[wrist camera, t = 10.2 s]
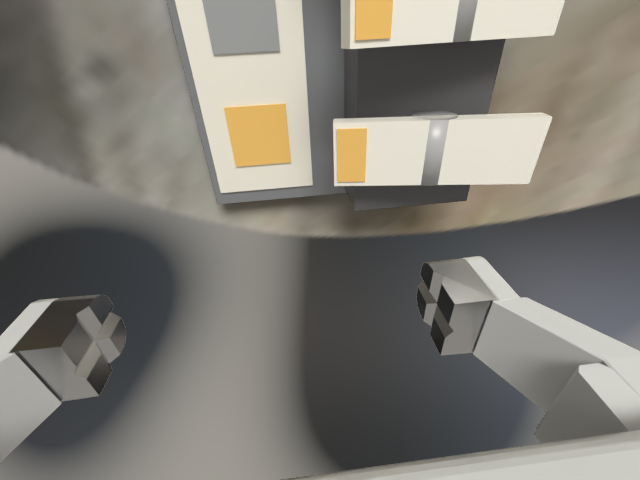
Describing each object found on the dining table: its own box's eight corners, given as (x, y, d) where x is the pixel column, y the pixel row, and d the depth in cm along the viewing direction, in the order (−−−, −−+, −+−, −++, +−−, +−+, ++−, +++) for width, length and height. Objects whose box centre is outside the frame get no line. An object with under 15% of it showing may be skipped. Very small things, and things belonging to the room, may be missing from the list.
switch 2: (529, 107, 18) (553, 117, 16) (511, 168, 20) (529, 184, 18) (334, 113, 18) (332, 123, 16) (335, 171, 20) (334, 186, 18)
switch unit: (520, -345, 14) (644, -537, 9) (433, 177, 27) (464, 207, 22) (86, -360, 12) (-27, -592, 8) (220, 196, 26) (208, 231, 21)
